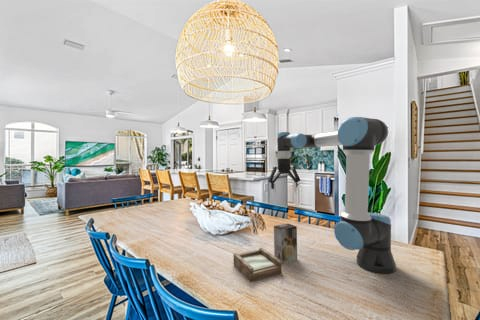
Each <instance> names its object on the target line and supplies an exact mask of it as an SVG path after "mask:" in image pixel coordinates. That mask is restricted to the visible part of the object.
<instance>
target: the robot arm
mask: <svg viewBox="0 0 480 320" xmlns="http://www.w3.org/2000/svg"><path fill="white" fill-rule="evenodd" d="M388 135H389V130H388V125H386V123H385V122H384V121H382V120H381V119H378V118H369V117H365V116H364V117H363V116H353V117H348V118H346V119H344V120H343V121H342V123H340V124H339V126H338V128H337V130H334V131H328V132H321V133H317V134H316V133H315V134H303V133H300V132H299V133H292V134H291V133H290V132H289V131H280V132H278V133H277V138H276V141H277V142H276V143H277V166H272V171H271V173H270V176H269V177H268V180H267V181H268V183H270V189H271V191H272V195H274V196H275V195H277V194H276V186H277V184H276V183H275V182H276V181H277V180H278V179H279V177H281V175H286V174H287V175H288V176H289V177H290V179H291V180H292V193H293V194H297V188H298V183H299V182H301V178H300V176H299V174H298V172H297V169H296V166H294V165H291V164H292V163H291V159H290V158H291V148H293V149H296V148H297V149H298V148H300V149H301V148H303V149H304V148H305V149H306V148H310V149H317V148H323V147H335V146H342V152H344V153H345V155H346V157H345V158H346V160H345V161H346V162H345V166H346V167H345V185H344V186H345V188H344V189H345V190H344V192H345V193H344V210H343V211H342V212H341V213H340V217H339V218H340V220H339V221H338V222H337V223H336V224H335V225H334V228H333V231H334V232H333V233H334V237H335V239H336V240H337V242H338V243H339V244H340V246H342V247H343V249H346V250H348V251H355V250H358V253H357V255H356V264H357V265H358V266H359V267H361V268H362V269H364V270H366V271H369V272H371V273H372V272H374V273H376V274H377V273H378V274H393V273H394V272H396V270H397V263H396V261H395V258H394V255H393V253H392V223H391V218H390V216H388V215H385V214H381V213H377V212H369V211H368V210H369V188H370V187H369V186H370V185H369V184H370V163H371V162H370V158H371V154H372V153H374V152H375V147H376V146H379V145H382V144H383V142H385V141H386V139H387V138H388ZM291 171H292V172H291Z"/></svg>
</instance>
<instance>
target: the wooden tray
mask: <svg viewBox="0 0 480 320" xmlns="http://www.w3.org/2000/svg"><path fill="white" fill-rule="evenodd" d="M282 265H283V264H282V261H281V260H279V259H278V258H276V257H275V256H274V254H272V253H270V252H269V251H267V250H266V249H264V248H263V247H260V248H259V249H256V250H255V249H254V250H251V251H246V252H241V253H237V252H236V253H233V266H234V267H235V268H236V269H237V270H238V271H239V272H240V273H241V274H242V275H243V276H244V278H246V280H247V281H249V282H250V283H252V282H255V281H258V280H262V279H267V278H269V277H270V278H271V277H273V276H277V275H280V274H283V273H282V272H283V271H282V270H283V269H282V268H283V267H282Z"/></svg>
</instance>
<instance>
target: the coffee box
mask: <svg viewBox="0 0 480 320" xmlns="http://www.w3.org/2000/svg"><path fill="white" fill-rule="evenodd" d="M297 231H298V228H297V226H296V225H294V224H291V223H284V224H279V225H274V226H273V243H274V244H273V245H274V246H273V247H274V251H273V252H274V253H273V256H275V257H276V258H278V259H279V260H281V261H282V265H283V264H287V263H290V262H295V261H297V260H298V234H297V233H298V232H297Z"/></svg>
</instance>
